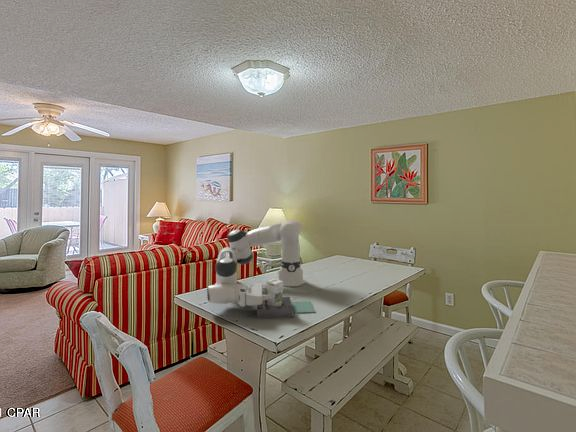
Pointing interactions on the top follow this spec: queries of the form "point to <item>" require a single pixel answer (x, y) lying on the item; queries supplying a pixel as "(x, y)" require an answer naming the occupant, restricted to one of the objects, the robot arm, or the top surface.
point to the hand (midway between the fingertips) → (272, 293)
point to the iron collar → (275, 310)
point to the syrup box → (274, 292)
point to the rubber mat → (302, 307)
